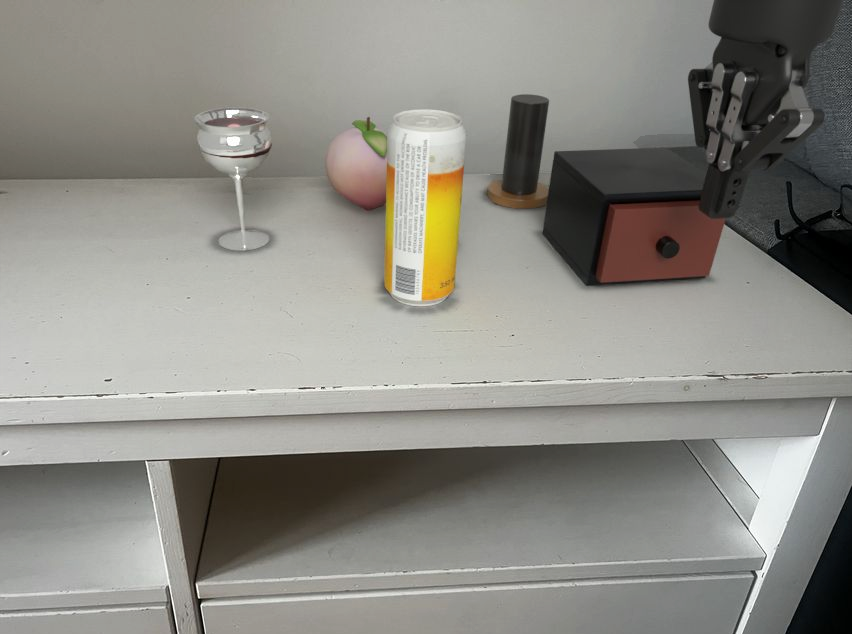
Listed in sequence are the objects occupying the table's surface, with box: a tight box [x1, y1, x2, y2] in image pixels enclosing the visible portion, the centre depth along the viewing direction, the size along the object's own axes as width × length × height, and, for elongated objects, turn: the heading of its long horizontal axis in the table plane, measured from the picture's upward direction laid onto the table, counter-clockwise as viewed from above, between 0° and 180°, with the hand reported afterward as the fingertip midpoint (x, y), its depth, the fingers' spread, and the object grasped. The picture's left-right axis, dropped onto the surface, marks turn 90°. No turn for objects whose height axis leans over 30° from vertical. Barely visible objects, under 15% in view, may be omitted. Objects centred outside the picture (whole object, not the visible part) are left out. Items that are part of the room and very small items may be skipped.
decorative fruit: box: [324, 116, 387, 211], centre depth 76 cm, size 9×8×10 cm
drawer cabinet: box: [542, 147, 707, 287], centre depth 68 cm, size 12×12×9 cm
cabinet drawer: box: [595, 199, 727, 283], centre depth 66 cm, size 12×10×7 cm
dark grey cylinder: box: [501, 93, 550, 195], centre depth 79 cm, size 4×4×10 cm
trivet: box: [486, 178, 549, 210], centre depth 82 cm, size 7×7×1 cm
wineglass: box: [194, 106, 273, 252], centre depth 68 cm, size 7×7×12 cm
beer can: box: [383, 108, 467, 307], centre depth 59 cm, size 6×6×15 cm
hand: (715, 214), depth 55 cm, fingers closed
